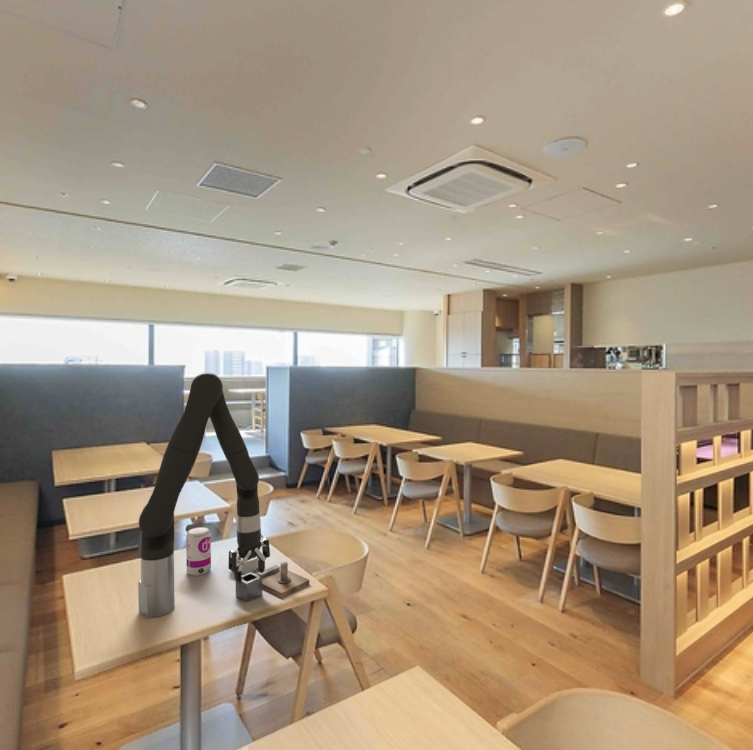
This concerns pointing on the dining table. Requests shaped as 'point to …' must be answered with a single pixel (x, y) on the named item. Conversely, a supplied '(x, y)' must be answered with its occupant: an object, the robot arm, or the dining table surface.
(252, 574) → the grey hollow cube
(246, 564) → the ramekin
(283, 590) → the board
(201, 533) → the supplement can
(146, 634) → the dining table surface
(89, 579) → the dining table surface
